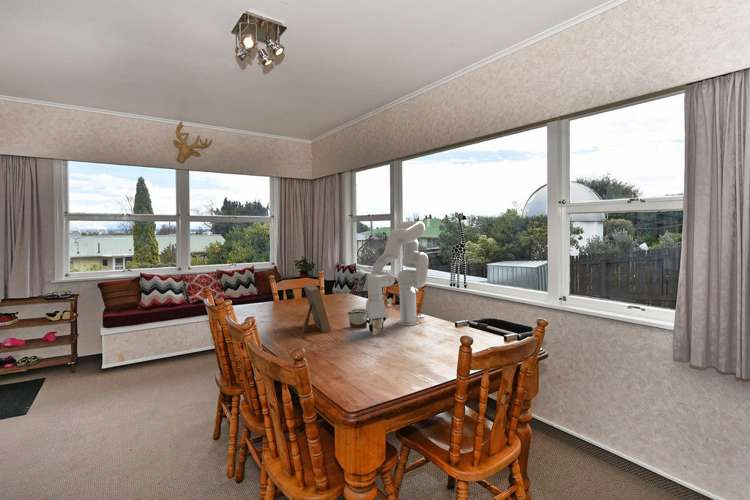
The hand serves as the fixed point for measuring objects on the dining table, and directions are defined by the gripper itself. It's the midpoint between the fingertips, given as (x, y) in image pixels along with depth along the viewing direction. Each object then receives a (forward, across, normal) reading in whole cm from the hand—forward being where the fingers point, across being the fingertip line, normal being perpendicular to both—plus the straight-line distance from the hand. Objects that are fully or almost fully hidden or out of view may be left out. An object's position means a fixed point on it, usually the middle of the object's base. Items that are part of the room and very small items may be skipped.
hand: (376, 330), depth 206 cm
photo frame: (+2, +29, -26) cm, 39 cm away
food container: (+2, +4, -18) cm, 19 cm away
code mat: (+2, +6, 0) cm, 6 cm away
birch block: (+2, 0, 0) cm, 2 cm away
